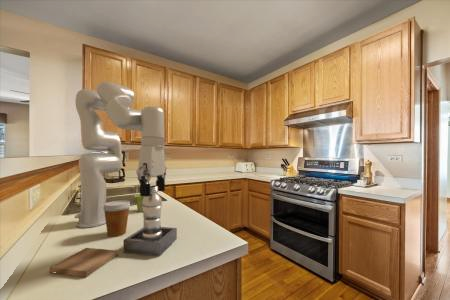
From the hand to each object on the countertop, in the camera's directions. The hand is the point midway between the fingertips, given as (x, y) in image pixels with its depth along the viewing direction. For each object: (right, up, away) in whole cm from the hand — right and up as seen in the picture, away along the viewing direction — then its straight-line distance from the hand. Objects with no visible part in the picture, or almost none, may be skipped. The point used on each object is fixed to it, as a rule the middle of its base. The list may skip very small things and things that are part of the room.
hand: (153, 193), depth 67 cm
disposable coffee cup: (-18, -18, +10) cm, 27 cm away
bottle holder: (0, -18, 0) cm, 18 cm away
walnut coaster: (-15, -17, -11) cm, 26 cm away
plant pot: (-21, -19, +42) cm, 50 cm away
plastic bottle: (0, -18, 0) cm, 18 cm away
